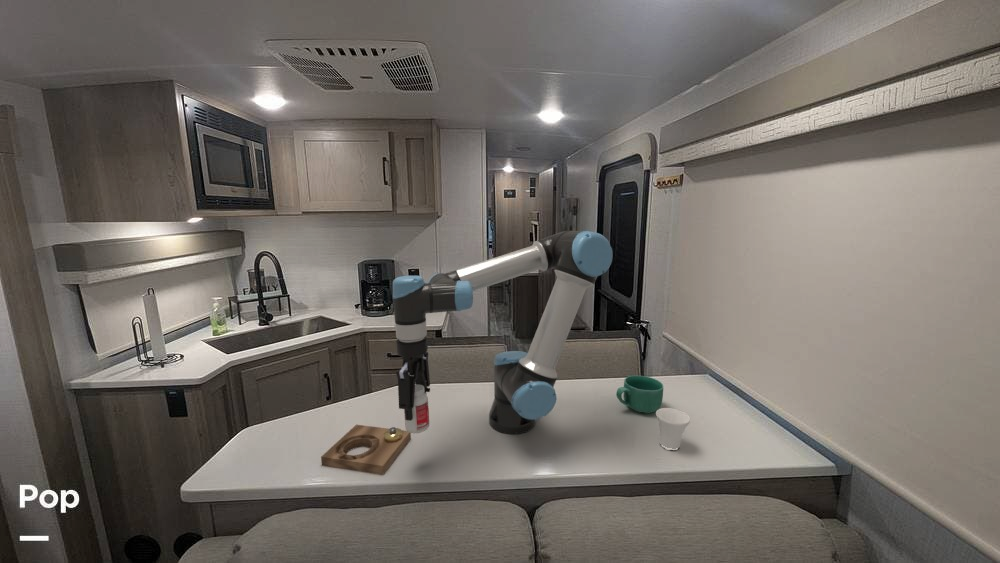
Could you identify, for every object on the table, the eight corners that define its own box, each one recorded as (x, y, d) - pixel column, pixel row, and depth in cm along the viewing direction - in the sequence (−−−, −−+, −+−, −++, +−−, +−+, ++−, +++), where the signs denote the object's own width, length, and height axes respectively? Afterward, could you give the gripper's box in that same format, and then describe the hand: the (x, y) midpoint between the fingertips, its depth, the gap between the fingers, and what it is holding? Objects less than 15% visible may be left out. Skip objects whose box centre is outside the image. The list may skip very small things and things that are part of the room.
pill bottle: (433, 429, 95) (430, 389, 93) (410, 437, 92) (407, 396, 90) (424, 418, 100) (421, 380, 98) (402, 426, 97) (399, 386, 95)
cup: (646, 442, 108) (648, 410, 107) (669, 434, 112) (671, 404, 110) (670, 459, 100) (673, 425, 98) (694, 451, 104) (697, 418, 102)
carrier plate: (410, 439, 110) (410, 431, 109) (383, 474, 94) (382, 465, 94) (356, 432, 113) (356, 424, 113) (321, 465, 98) (321, 456, 97)
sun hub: (405, 433, 108) (404, 425, 108) (397, 443, 103) (396, 434, 103) (389, 431, 109) (389, 423, 109) (380, 441, 104) (380, 432, 104)
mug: (647, 398, 135) (649, 373, 134) (669, 415, 123) (671, 388, 122) (606, 402, 132) (607, 377, 130) (624, 420, 120) (626, 393, 118)
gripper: (414, 326, 102) (419, 403, 106) (377, 350, 83) (385, 442, 87) (439, 327, 100) (443, 405, 104) (408, 352, 82) (414, 446, 86)
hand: (417, 422), depth 96 cm, fingers closed on pill bottle, 6 cm apart
